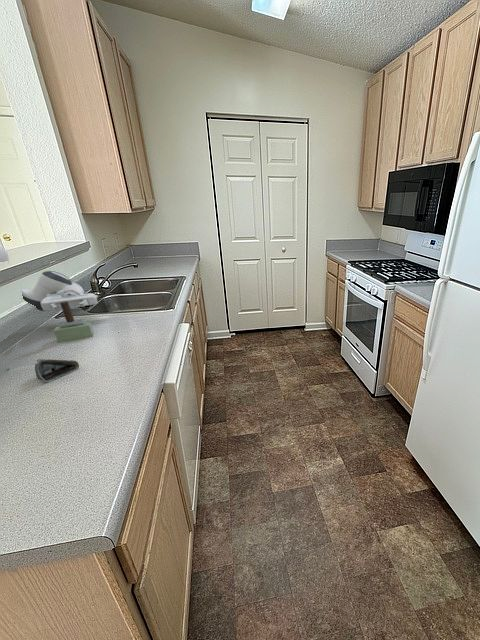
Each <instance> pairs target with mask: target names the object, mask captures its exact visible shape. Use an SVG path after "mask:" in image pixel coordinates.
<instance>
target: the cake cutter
mask: <svg viewBox="0 0 480 640" xmlns="http://www.w3.org/2000/svg"><path fill="white" fill-rule="evenodd" d="M60 304H61V307H62V309H61V310H62V313H63V315H64V318H65V321H63V322H58V326H60V328H65V327H72V326H78V325H84V323H83V322H84V320H83V319H75V318H74V315H73V313H72V309H70V307H69V304H68V301H63V302H60Z"/></svg>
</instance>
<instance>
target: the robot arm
mask: <svg viewBox="0 0 480 640" xmlns="http://www.w3.org/2000/svg"><path fill="white" fill-rule="evenodd" d="M5 261H8V262H9V256H8V252H7V250H6V248H5V247H4V246H3V245H1V244H0V262H5ZM21 292H22V296H23V299H24V300H23V299H22V300H23V301H25V302H26V303H27V302H28V303H27V304H29V303H30V304H32V305H34V306H36V308H37V309H36V308H35V309H36V310H38V311H41V312H50V311H58V310H62V307H61V304H60V302H63V301H68V304H69V307H70V309H71V310H76V309H80V308H85V306H86V307H87V306H93V305H97V304H98V298H99V296H98V294H95V293H85V290H84V287H82V286H81V285H80V284H78V283H76V282H72V280H71V278H70V277H68V276H67V275H64V274H62V273H61V272H58V271H56V270H46V271H43V272H41V274H40V276H39V277H38V279H37V282H36V284H35V285H34V287H33V289H32V290H30V289H28V288H26V289H23V290H22V291H21ZM30 304H29V305H30Z"/></svg>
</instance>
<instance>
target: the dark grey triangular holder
mask: <svg viewBox="0 0 480 640" xmlns="http://www.w3.org/2000/svg"><path fill="white" fill-rule="evenodd" d="M79 368H80V363H79V362H78V361H77V360H73V359H71V360H66V359H50V358H49V359H45V358H42V359H41V358H39V359H36V363H34V371H35V377H36V378H37V379H40V380H41V381H43V382H44V383H49V382H53V381H54V380H57V379H59V378H62V377H64V376H66V375H67V374H70V373H73V372H75V371H77V370H78V369H79Z"/></svg>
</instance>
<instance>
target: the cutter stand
mask: <svg viewBox="0 0 480 640" xmlns="http://www.w3.org/2000/svg"><path fill="white" fill-rule="evenodd" d="M83 323H84V325H78V326H72V327H65V328H60V325H58V326H55V327H54V330H53V332H54V335H55V337H56V340H57V343H64V342H70V341H76V340H82V339H88V338H93V337H94V330H93V328H92V324H91V322H90V321H83Z"/></svg>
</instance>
